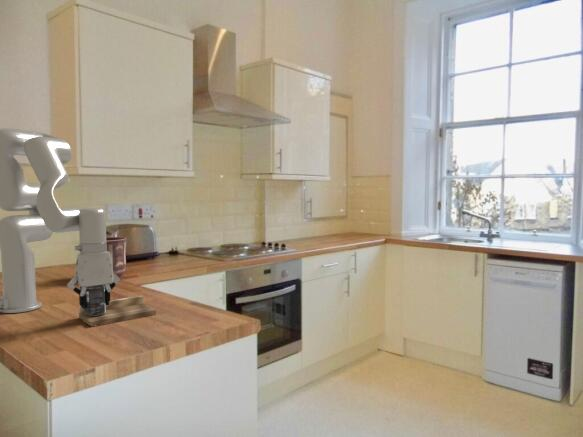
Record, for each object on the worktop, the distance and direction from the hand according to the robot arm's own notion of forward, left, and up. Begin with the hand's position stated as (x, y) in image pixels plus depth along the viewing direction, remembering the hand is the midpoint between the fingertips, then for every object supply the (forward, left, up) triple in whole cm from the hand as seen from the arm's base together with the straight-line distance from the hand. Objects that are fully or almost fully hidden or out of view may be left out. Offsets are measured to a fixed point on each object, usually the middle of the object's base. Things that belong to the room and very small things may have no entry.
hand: (95, 305), depth 139 cm
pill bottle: (0, 0, -3) cm, 3 cm away
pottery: (+24, +63, -5) cm, 67 cm away
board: (+7, -1, -4) cm, 8 cm away
